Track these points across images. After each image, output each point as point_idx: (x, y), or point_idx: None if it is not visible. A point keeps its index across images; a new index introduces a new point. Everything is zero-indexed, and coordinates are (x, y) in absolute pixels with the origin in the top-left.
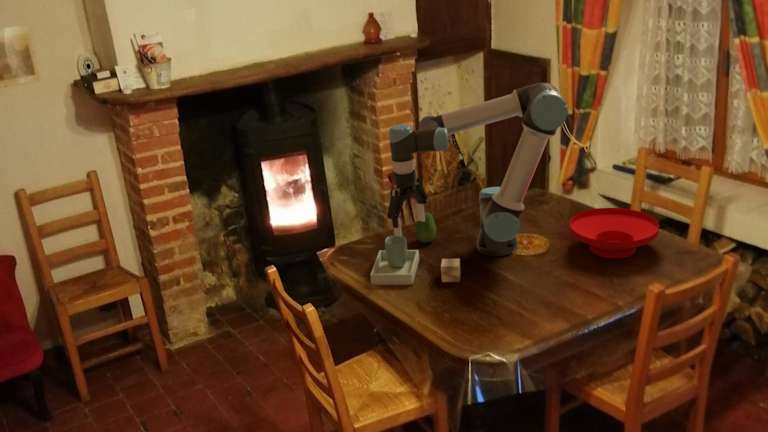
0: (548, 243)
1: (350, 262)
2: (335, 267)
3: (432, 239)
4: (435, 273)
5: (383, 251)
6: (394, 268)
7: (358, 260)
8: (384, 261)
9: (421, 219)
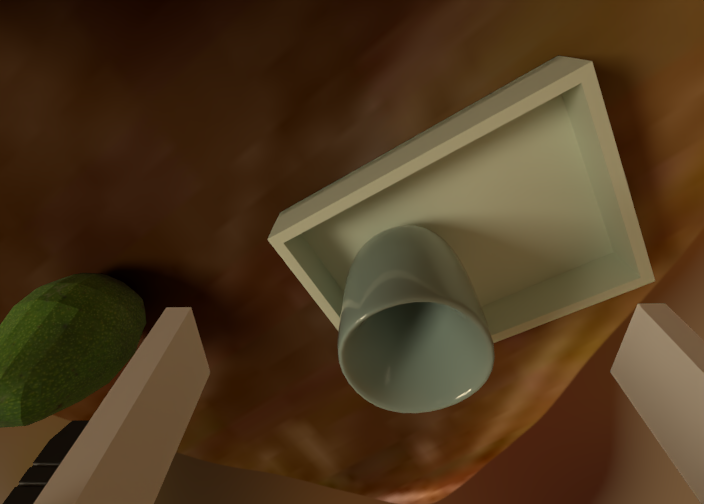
0: None
1: (450, 419)
2: (510, 435)
3: (91, 273)
4: (363, 23)
5: None
6: None
7: None
8: None
9: (190, 349)
